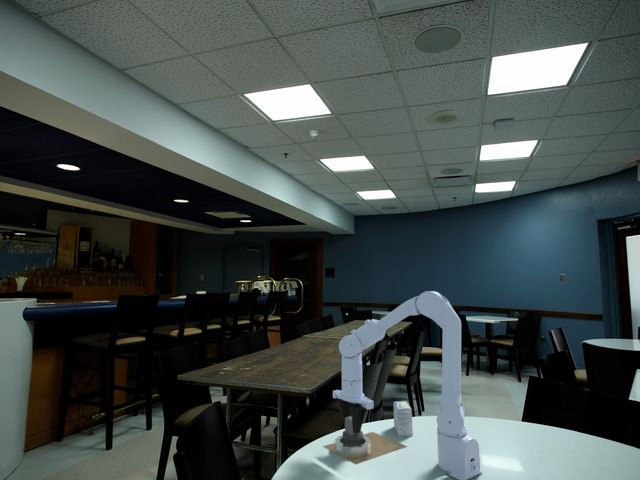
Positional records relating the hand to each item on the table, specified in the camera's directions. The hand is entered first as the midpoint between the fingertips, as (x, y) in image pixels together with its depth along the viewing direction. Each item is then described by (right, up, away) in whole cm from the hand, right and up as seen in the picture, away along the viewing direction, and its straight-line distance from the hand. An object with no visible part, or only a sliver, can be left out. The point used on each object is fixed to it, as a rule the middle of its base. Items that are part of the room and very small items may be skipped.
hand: (352, 430), depth 109 cm
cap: (0, -2, 0) cm, 2 cm away
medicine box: (+17, -8, +14) cm, 23 cm away
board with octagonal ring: (+4, -6, +2) cm, 7 cm away
